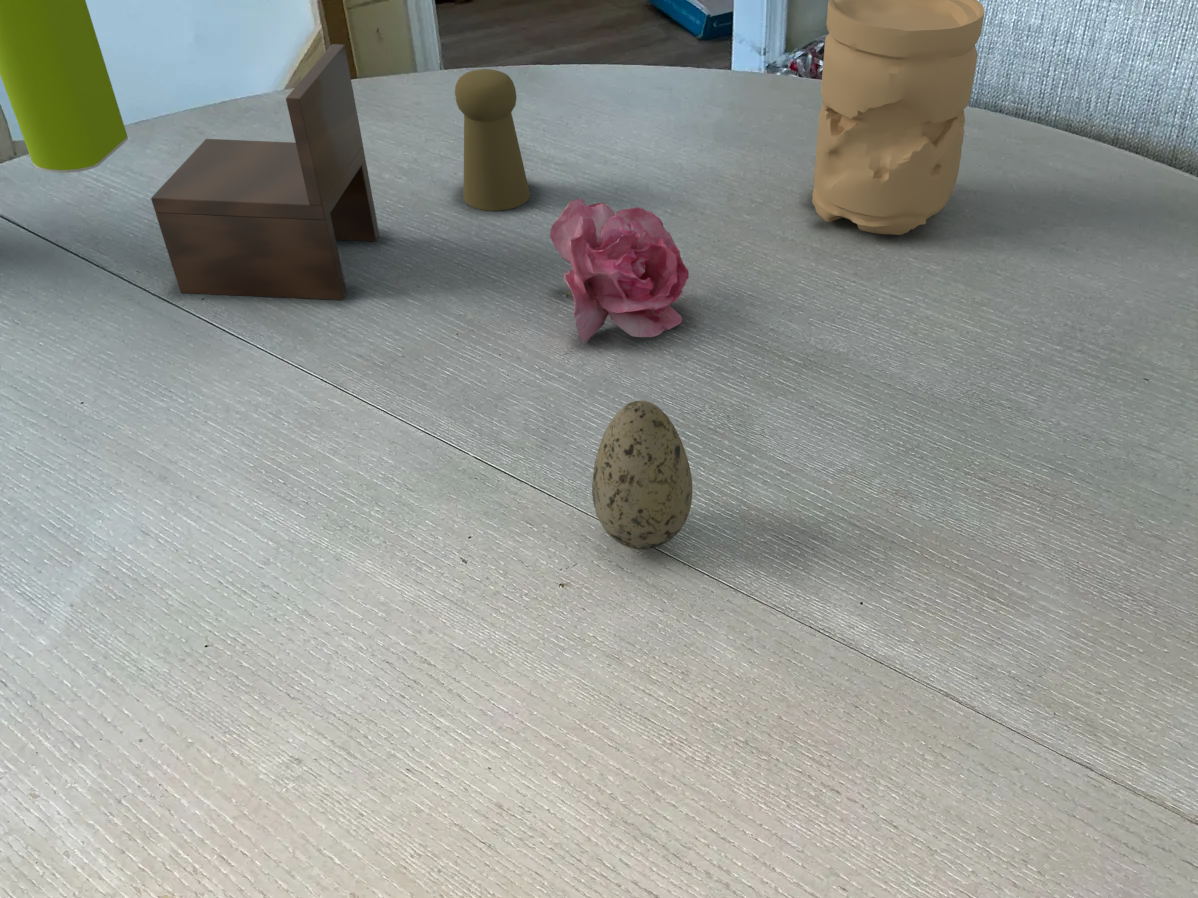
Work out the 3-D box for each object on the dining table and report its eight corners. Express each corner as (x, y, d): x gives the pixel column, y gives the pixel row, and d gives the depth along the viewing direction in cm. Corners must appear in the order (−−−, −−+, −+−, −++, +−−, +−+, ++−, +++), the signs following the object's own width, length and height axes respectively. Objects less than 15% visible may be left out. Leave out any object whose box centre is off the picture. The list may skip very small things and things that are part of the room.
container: (784, 201, 108) (797, -6, 96) (889, 172, 113) (914, -28, 101) (870, 258, 100) (896, 40, 88) (979, 223, 105) (1018, 13, 93)
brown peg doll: (485, 217, 104) (470, 92, 97) (451, 192, 108) (434, 71, 100) (543, 198, 107) (533, 76, 100) (507, 175, 111) (495, 56, 103)
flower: (698, 350, 95) (712, 297, 85) (577, 376, 93) (577, 324, 83) (663, 223, 97) (672, 158, 87) (544, 246, 95) (540, 181, 85)
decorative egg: (616, 582, 70) (610, 447, 63) (581, 522, 74) (571, 389, 67) (707, 555, 72) (710, 421, 65) (668, 498, 76) (667, 366, 69)
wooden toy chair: (180, 292, 93) (116, 90, 83) (230, 228, 101) (178, 37, 91) (342, 300, 93) (299, 98, 82) (379, 235, 101) (344, 44, 91)
